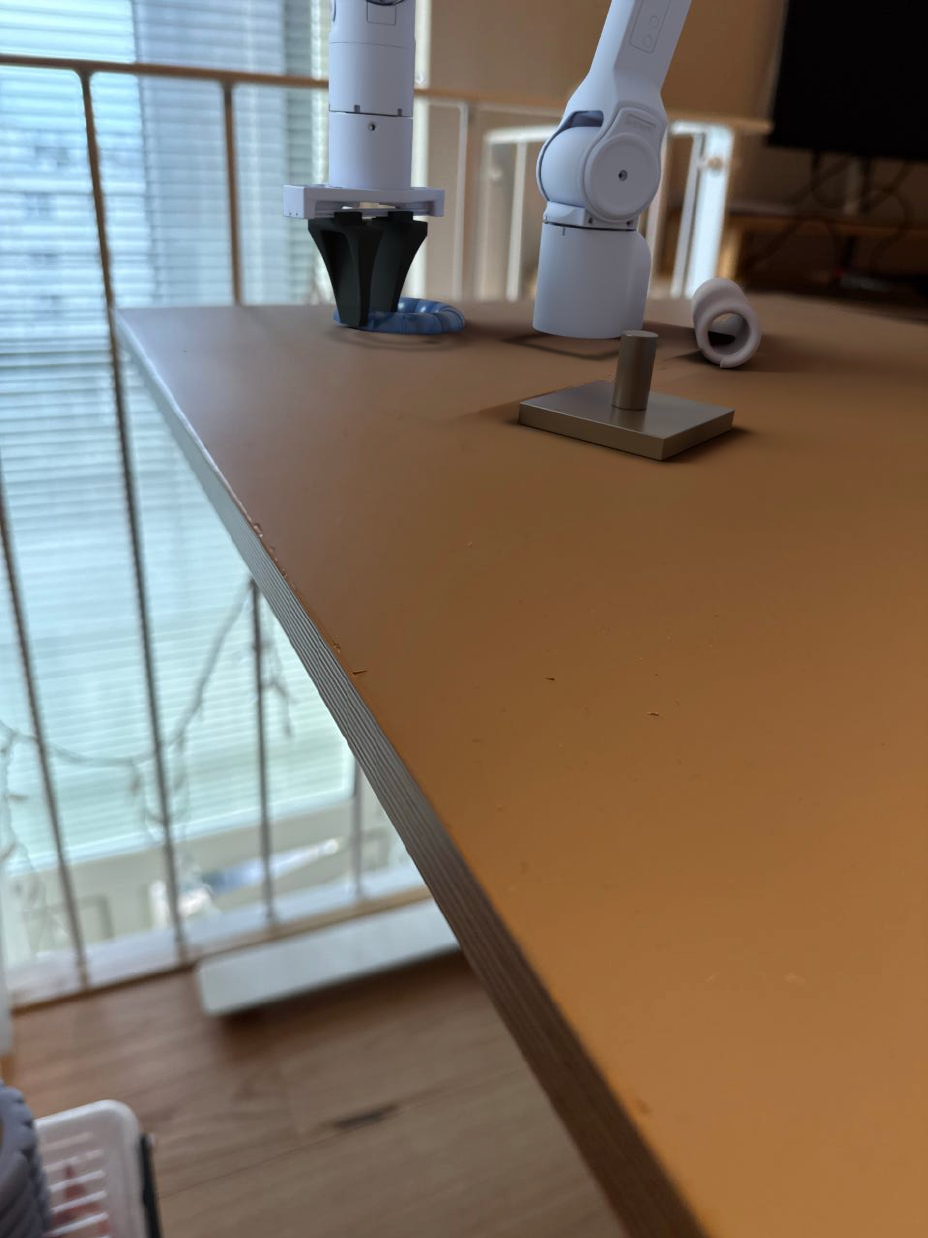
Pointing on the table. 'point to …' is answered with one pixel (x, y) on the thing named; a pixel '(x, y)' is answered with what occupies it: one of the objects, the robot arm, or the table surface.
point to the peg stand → (628, 408)
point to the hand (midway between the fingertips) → (367, 322)
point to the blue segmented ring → (414, 318)
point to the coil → (725, 322)
